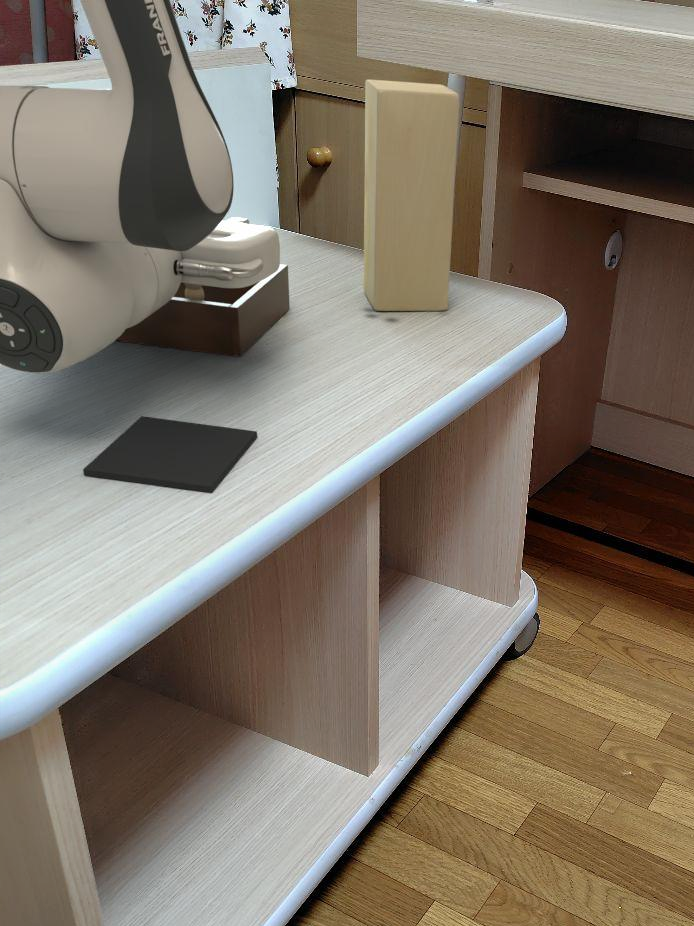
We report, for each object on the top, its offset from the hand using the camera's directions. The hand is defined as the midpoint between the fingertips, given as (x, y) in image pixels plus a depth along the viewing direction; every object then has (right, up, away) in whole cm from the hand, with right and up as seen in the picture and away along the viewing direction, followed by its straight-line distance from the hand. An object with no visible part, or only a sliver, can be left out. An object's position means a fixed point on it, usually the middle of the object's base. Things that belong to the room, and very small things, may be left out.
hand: (191, 220), depth 89 cm
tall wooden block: (+17, -4, +16) cm, 24 cm away
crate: (-1, -8, +4) cm, 9 cm away
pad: (+5, -23, -18) cm, 30 cm away
